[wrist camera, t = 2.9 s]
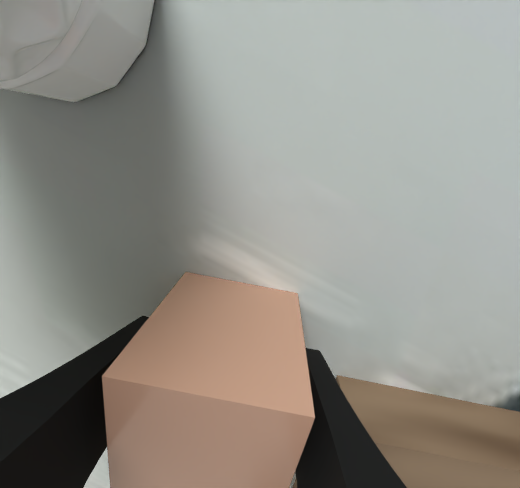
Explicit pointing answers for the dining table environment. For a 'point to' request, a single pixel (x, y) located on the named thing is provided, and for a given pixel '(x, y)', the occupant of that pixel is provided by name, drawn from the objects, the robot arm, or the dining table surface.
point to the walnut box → (438, 436)
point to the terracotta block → (211, 390)
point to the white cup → (70, 45)
